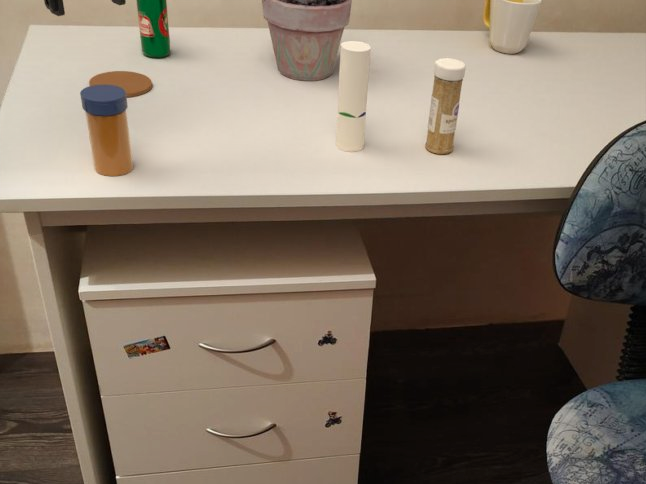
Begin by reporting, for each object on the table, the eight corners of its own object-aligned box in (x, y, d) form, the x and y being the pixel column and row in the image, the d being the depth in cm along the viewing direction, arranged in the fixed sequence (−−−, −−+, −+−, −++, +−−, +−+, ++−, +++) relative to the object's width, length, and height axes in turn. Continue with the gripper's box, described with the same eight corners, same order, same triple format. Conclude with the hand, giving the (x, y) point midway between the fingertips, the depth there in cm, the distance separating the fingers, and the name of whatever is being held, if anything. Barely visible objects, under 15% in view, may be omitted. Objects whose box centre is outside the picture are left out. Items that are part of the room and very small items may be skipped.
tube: (332, 140, 125) (336, 41, 116) (357, 138, 127) (364, 40, 117) (341, 152, 123) (346, 52, 113) (367, 150, 124) (375, 50, 114)
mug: (539, 57, 164) (551, 2, 157) (494, 58, 161) (504, 3, 154) (510, 34, 173) (520, -18, 167) (467, 35, 170) (475, -18, 163)
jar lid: (100, 119, 104) (97, 105, 102) (72, 105, 106) (70, 91, 105) (136, 108, 107) (135, 94, 106) (109, 94, 110) (107, 81, 108)
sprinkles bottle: (450, 157, 125) (463, 70, 116) (421, 152, 125) (432, 64, 116) (455, 145, 128) (468, 59, 119) (427, 140, 129) (438, 54, 120)
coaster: (115, 102, 129) (114, 98, 128) (76, 83, 133) (76, 80, 132) (164, 87, 135) (164, 84, 135) (126, 70, 139) (126, 66, 139)
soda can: (136, 51, 146) (128, -20, 138) (161, 47, 149) (155, -23, 141) (151, 60, 143) (144, -12, 135) (176, 56, 146) (170, -15, 138)
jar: (110, 179, 110) (99, 107, 103) (86, 166, 112) (74, 95, 105) (141, 168, 113) (132, 97, 106) (117, 155, 115) (107, 85, 108)
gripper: (25, -138, 83) (53, 27, 93) (142, -144, 91) (155, 8, 102) (-13, -151, 86) (18, 9, 97) (103, -156, 95) (120, -8, 105)
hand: (89, 8), depth 99 cm, fingers open, 8 cm apart
